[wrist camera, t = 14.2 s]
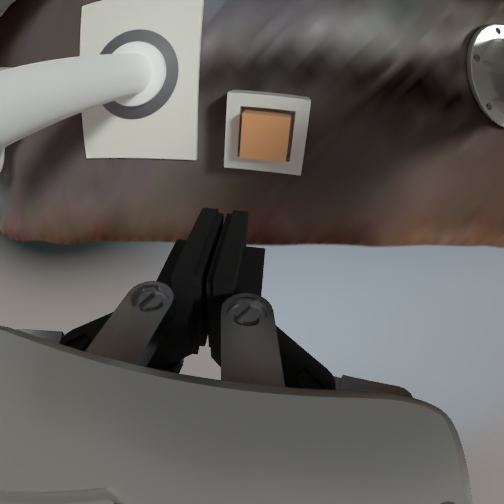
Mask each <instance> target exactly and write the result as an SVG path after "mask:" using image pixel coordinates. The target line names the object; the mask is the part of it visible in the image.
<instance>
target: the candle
mask: <svg viewBox="0 0 504 504" xmlns="http://www.w3.org/2000/svg"><path fill="white" fill-rule="evenodd" d="M165 78H166V63H165V59H164V57H163V55H162V54H161V52H160V51H159V50H158V49H157V48H156V47H155V46H153V45H151V44H149V43H146V42H140V41H135V42H129V43H126V44H124V45H122V46H120V47H119V48H117V49H116V50H115V51H114V52H113V53H112V54H102V55H89V56H79V57H70V58H63V59H56V60H49V61H43V62H38V63H32V64H27V65H22V66H18V67H14V68H9V69H5V70H1V71H0V150H1V149H3V148H5V147H7V146H9V145H11V144H12V143H14V142H16V141H18V140H20V139H22V138H24V137H26V136H28V135H30V134H32V133H34V132H36V131H39V130H41V129H43V128H45V127H47V126H49V125H52V124H54V123H56V122H59V121H61V120H63V119H66V118H68V117H71V116H73V115H76V114H78V113H81V112H84V111H86V110H89V109H92V108H94V107H97V106H100V105H103V104H106V103H109V102H112V101H115V102H117V103H119V104H121V105H124V106H139V105H142V104H144V103H147V102H148V101H150V100H151V99H153V98H154V97H155V96H156V95H157V94H158V93H159V91H160V90H161V88H162V86H163V84H164V82H165Z"/></svg>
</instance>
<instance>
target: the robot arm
mask: <svg viewBox="0 0 504 504" xmlns="http://www.w3.org/2000/svg"><path fill="white" fill-rule="evenodd" d="M467 73H468V79H469V83H470V87H471V90H472V92H473V95H474V97H475V99H476V101H477V103H478V105H479V107H480V108H481V109H482V111H483V112H484V113H485V115H486V116H487V117H488V118H489V119H491V120H492V121H493V122H495V123H496V124H498V125H500V126H502V127H504V26H503V25H497V24H492V25H486V26H484V27H481V28H480V29H479V30H478V31H477V32H475V34H474V35H473V37H472V39H471V41H470V44H469V47H468V52H467ZM247 225H248V212H243V211H233V213H232V214H227V216H226V219H225V222H224V225H223V213H218V209H212V208H203V209H202V210H201V213H200V215H199V217H198V219H197V221H196V223H195V225H194V227H193V229H192V231H191V233H190V235H189V238H188V240H180V239H179V240H177V241H176V243H175V245H174V247H173V249H172V251H171V253H170V255H169V257H168V259H167V261H166V263H165V265H164V267H163V269H162V271H161V273H160V275H159V277H158V279H157V281H156V282H155V281H149V282H144V283H141V284H138V285H137V286H135V287H133V288H132V289H131V290H130V291H129V292H128V294H127V295H126V297H125V298H124V299H123V300H122V302H121V303H120V304H119V306H118V307H117V308H116V310H115V311H114V312H112V313H110V314H108V315H106V316H104V317H101V318H99V319H96V320H94V321H92V322H89V323H87V324H85V325H82V326H80V327H78V328H75V329H73V330H71V331H70V332H68V333H67V334H66V335H64V333H63V332H59V331H43V330H29V329H17V330H15V329H12V328H8V327H4V326H0V504H472V496H471V487H470V481H469V474H468V469H467V464H466V459H465V455H464V451H463V447H462V444H461V441H460V438H459V435H458V433H457V430H456V428H455V426H454V424H453V422H452V421H451V419H450V418H449V417H448V415H447V414H446V413H444V412H443V411H442V410H441V409H439V408H437V407H436V406H434V405H432V404H429V403H427V402H424V401H421V400H418V399H415V398H413V397H412V395H411V393H409V392H408V391H407V390H406V389H405V388H402V387H399V386H394V385H389V384H384V383H379V382H373V381H368V380H364V379H359V378H354V377H350V376H346V375H343V376H342V378H339V377H335V376H333V375H332V374H331V373H330V372H329V371H328V369H327V368H325V367H324V366H323V365H322V364H321V363H319V362H318V361H317V360H316V359H315V358H313V357H312V356H311V355H310V354H309V353H307V352H306V351H305V350H304V349H303V348H302V347H300V346H299V345H298V344H297V343H296V342H295V341H293V340H292V339H291V338H290V337H289V336H287V335H286V334H285V333H284V332H283V331H282V330H280V329H279V328H278V327H277V326H276V325H275V320H274V313H273V309H272V306H271V305H270V304H269V302H268V301H267V300H266V299H264V298H263V297H261V290H262V279H263V266H264V255H265V249H264V248H256V247H246V238H247ZM207 336H208V337H209V347H211V357H212V358H213V359H214V360H215V361H216V363H217V364H218V365H219V366H220V367H221V380H214V379H208V378H202V377H195V376H189V375H183V374H179V373H180V370H181V368H182V366H183V362H184V358H185V357H186V356H189V355H190V354H198V349H199V346H205V344H206V340H207Z"/></svg>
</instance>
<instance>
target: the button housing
mask: <svg viewBox="0 0 504 504" xmlns="http://www.w3.org/2000/svg"><path fill="white" fill-rule="evenodd" d="M310 106H311V100H310V98H309V97H304V96H297V95H289V94H280V93H271V92H260V91H246V90H231V91H229V92H227V110H226V130H225V153H224V167H226V168H237V169H248V170H258V171H267V172H276V173H284V174H292V175H300V176H301V171H302V164H303V157H304V150H305V143H306V136H307V129H308V121H309V114H310ZM245 110H253V111H264V112H274V113H283V114H291V123H290V131H289V140H288V148H287V156H286V162H278V161H269V160H259V159H249V158H240V143H241V127H242V113H243V112H244V111H245Z"/></svg>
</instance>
